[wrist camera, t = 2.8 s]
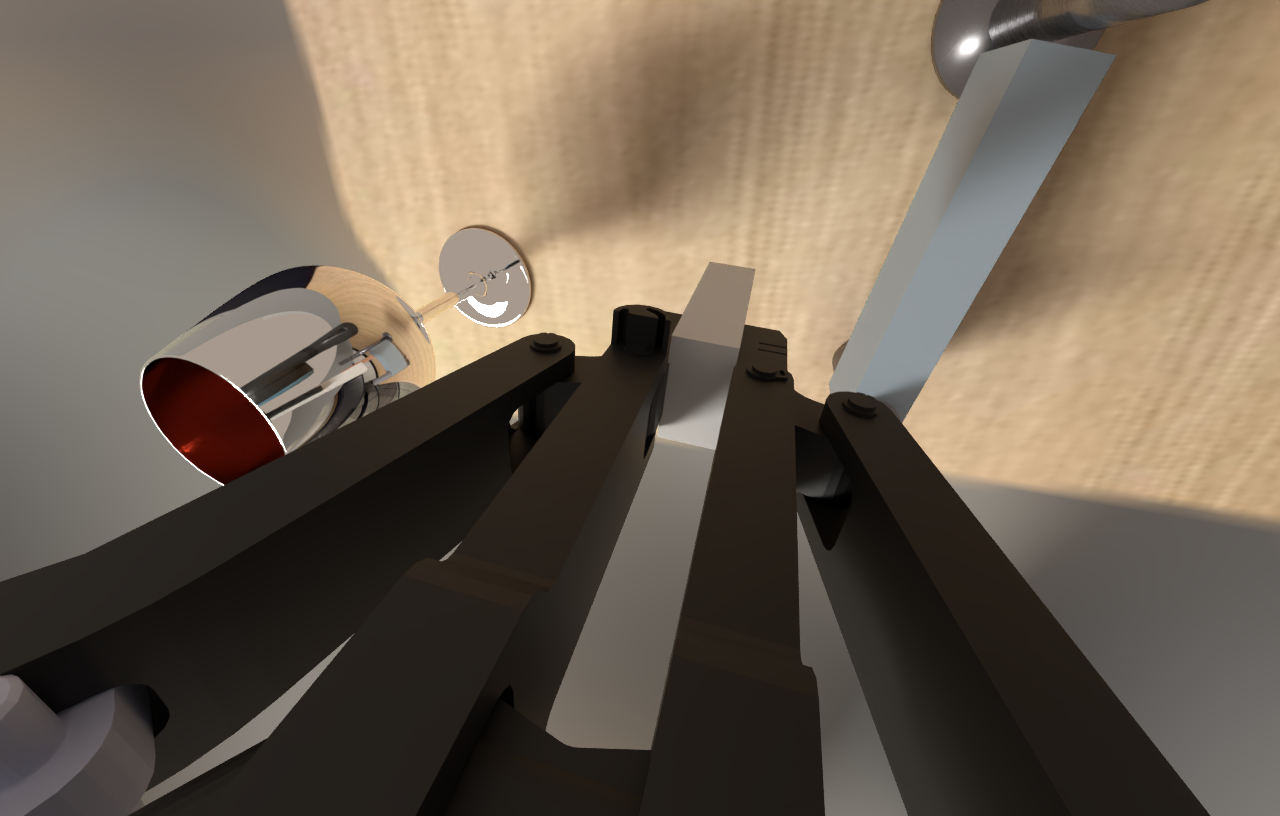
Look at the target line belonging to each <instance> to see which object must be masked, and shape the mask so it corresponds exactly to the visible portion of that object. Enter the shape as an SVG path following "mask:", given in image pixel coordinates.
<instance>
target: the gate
mask: <svg viewBox="0 0 1280 816" xmlns="http://www.w3.org/2000/svg"><path fill="white" fill-rule="evenodd" d="M1116 56H1117V55H1114V54H1109V53H1104V52H1099V51H1093V50H1088V49H1083V48H1078V47H1072V46H1067V45H1062V44H1057V43H1051V42H1046V41H1041V40H1036V39H1029V40H1026V41H1022V42H1019V43H1015V44H1012V45H1009V46H1005V47H1002V48H998V49H995V50H991V51H988V52H984V53H981V54H980V55H979V57H978V59H977V62H976V64H975V66H974V68H973V70H972V72H971V75H970V77H969V79H968V81H967V83H966V86H965V88H964V90H963V92H962V94H961V96H960V99H959V101H958V103H957V105H956V107H955V110H954V112H953V114H952V116H951V118H950V120H949V123H948V125H947V127H946V129H945V131H944V134H943V136H942V138H941V140H940V142H939V144H938V147H937V149H936V151H935V153H934V155H933V158H932V160H931V162H930V164H929V166H928V168H927V171H926V173H925V175H924V177H923V179H922V182H921V184H920V186H919V188H918V190H917V192H916V195H915V197H914V199H913V201H912V203H911V205H910V208H909V210H908V212H907V214H906V216H905V219H904V221H903V223H902V225H901V227H900V229H899V232H898V234H897V236H896V238H895V240H894V243H893V245H892V247H891V249H890V251H889V253H888V256H887V258H886V260H885V262H884V264H883V267H882V269H881V271H880V273H879V275H878V277H877V280H876V282H875V284H874V286H873V288H872V291H871V293H870V295H869V297H868V299H867V301H866V304H865V306H864V308H863V310H862V312H861V315H860V317H859V319H858V321H857V323H856V325H855V328H854V330H853V332H852V334H851V336H850V339H849V341H848V343H845V344H844V345H842V346H841V347H839V348H838V349H837V351H836V352H835V354H834V356H833V361H832V363H833V370H834V373H833V376H832V378H831V380H830V382H829V388H830V394H832V393H835V392H840V391H849V392H855V393H857V392H860V393H864V394H866V396H867V395H870V396H872V397H874V398H875V399H876V400H878V401H880V402H882V403H884V404H885V405H886V406H887V407H888V408H889V409H891V410H892V412H893V413H894V414H895V415H896V417H897V418H898V419H899V420H900V422H901V423H902V422H903V420H904V418H905V417H906V415H907V413H908V412H909V410H910V408H911V407H912V405H913V403H914V401H915V400H916V398H917V396H918V395H919V393H920V391H921V389H922V388H923V386H924V384H925V383H926V381H927V379H928V377H929V376H930V374H931V372H932V371H933V369H934V367H935V365H936V364H937V362H938V360H939V359H940V357H941V355H942V353H943V352H944V350H945V348H946V347H947V345H948V343H949V341H950V340H951V338H952V336H953V335H954V333H955V331H956V330H957V328H958V326H959V324H960V323H961V321H962V319H963V318H964V316H965V314H966V312H967V311H968V309H969V307H970V306H971V304H972V302H973V300H974V299H975V297H976V295H977V294H978V292H979V290H980V288H981V287H982V285H983V283H984V282H985V280H986V278H987V276H988V275H989V273H990V271H991V270H992V268H993V266H994V264H995V263H996V261H997V259H998V258H999V256H1000V254H1001V253H1002V251H1003V249H1004V247H1005V246H1006V244H1007V242H1008V241H1009V239H1010V237H1011V235H1012V234H1013V232H1014V230H1015V229H1016V227H1017V225H1018V223H1019V222H1020V220H1021V218H1022V217H1023V215H1024V213H1025V211H1026V210H1027V208H1028V206H1029V205H1030V203H1031V201H1032V199H1033V198H1034V196H1035V194H1036V193H1037V191H1038V189H1039V187H1040V186H1041V184H1042V182H1043V181H1044V179H1045V177H1046V175H1047V174H1048V172H1049V170H1050V169H1051V167H1052V165H1053V164H1054V162H1055V160H1056V158H1057V157H1058V155H1059V153H1060V152H1061V150H1062V148H1063V146H1064V145H1065V143H1066V141H1067V140H1068V138H1069V136H1070V134H1071V133H1072V131H1073V129H1074V128H1075V126H1076V124H1077V122H1078V121H1079V119H1080V117H1081V116H1082V114H1083V112H1084V110H1085V109H1086V107H1087V105H1088V104H1089V102H1090V100H1091V98H1092V97H1093V95H1094V93H1095V92H1096V90H1097V88H1098V87H1099V85H1100V83H1101V81H1102V80H1103V78H1104V76H1105V75H1106V73H1107V71H1108V69H1109V68H1110V66H1111V64H1112V63H1113V61H1114V59H1115V57H1116Z"/></svg>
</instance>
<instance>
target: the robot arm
mask: <svg viewBox="0 0 1280 816" xmlns="http://www.w3.org/2000/svg"><path fill="white" fill-rule="evenodd" d="M754 274H755V269H751V268H745V267H739V266H733V265H727V264H721V263H715V262H709V264H708V266H707V268H706V270H705V272H704V274H703V276H702V278H701V280H700V282H699V284H698V286H697V288H696V290H695V291H694V293H693V295H692V297H691V299H690V301H689V303H688V305H687V307H686V309H685V311H684V313H683V315H682V314H677V313H671V312H666V311H663V310H661V309H659V308H655V307H651V306H645V305H625V306H621V307H618V308H616V309H615V310H614V312H613V325H612V339H611V345H610V346H609V347H608V349H607V350H606V351H605V353H604V354H603V355H602V356H594V357H589V356H575V344H574V343H573V342H572V341H571V340H570V339H568V338H566V337H563V336H559V335H556V334H554V333H549V334H547V333H540V334H535V335H529V336H526V337H523V338H521V339H519V340H517V341H515V342H513V343H511V344H509V345H507V346H505V347H503V348H501V349H499V350H497V351H495V352H493V353H491V354H489V355H487V356H485V357H483V358H481V359H479V360H477V361H474V362H472V363H470V364H468V365H466V366H464V367H462V368H460V369H458V370H456V371H454V372H452V373H450V374H448V375H446V376H444V377H442V378H440V379H438V380H436V381H434V382H432V383H430V384H428V385H426V386H424V387H422V388H420V389H418V390H416V391H414V392H412V393H410V394H408V395H406V396H404V397H402V398H400V399H397V400H395V401H393V402H391V403H389V404H387V405H385V406H383V407H381V408H379V409H377V410H375V411H373V412H371V413H369V414H367V415H365V416H363V417H361V418H359V419H357V420H355V421H353V422H351V423H349V424H347V425H345V426H343V427H341V428H339V429H337V430H335V431H333V432H331V433H329V434H327V435H325V436H323V437H320V438H318V439H316V440H314V441H312V442H310V443H308V444H306V445H304V446H302V447H300V448H298V449H296V450H294V451H292V452H290V453H288V454H286V455H284V456H282V457H280V458H278V459H276V460H274V461H272V462H270V463H268V464H266V465H264V466H262V467H260V468H258V469H256V470H254V471H252V472H250V473H248V474H245V475H243V476H241V477H239V478H237V479H235V480H233V481H231V482H229V483H227V484H225V485H223V486H221V487H219V488H217V489H215V490H213V491H211V492H209V493H207V494H205V495H203V496H201V497H199V498H197V499H195V500H193V501H191V502H189V503H187V504H185V505H183V506H181V507H179V508H177V509H175V510H173V511H171V512H168V513H166V514H164V515H163V516H160V517H158V518H156V519H154V520H153V521H150V522H148V523H146V524H144V525H142V526H140V527H138V528H136V529H134V530H132V531H130V532H128V533H126V534H124V535H122V536H120V537H118V538H116V539H114V540H112V541H110V542H108V543H106V544H104V545H102V546H100V547H98V548H96V549H94V550H92V551H89V552H87V553H86V554H83V555H80V556H77V557H74V558H71V559H68V560H65V561H62V562H59V563H56V564H53V565H50V566H47V567H44V568H41V569H38V570H35V571H32V572H29V573H26V574H23V575H20V576H17V577H14V578H11V579H8V580H5V581H2V582H0V816H825V807H824V790H823V789H824V788H823V769H822V751H821V732H820V713H819V697H818V689H817V681H816V677H815V674H814V672H813V669H812V667H808V666H805V665H803V664H802V661H801V656H800V629H799V628H800V627H799V586H798V585H799V584H798V542H797V512H798V515H799V518H800V520H801V523H802V526H803V528H804V531H805V534H806V537H807V539H808V542H809V545H810V547H811V550H812V553H813V556H814V559H815V561H816V564H817V567H818V570H819V572H820V575H821V578H822V581H823V583H824V586H825V589H826V592H827V594H828V597H829V600H830V603H831V605H832V608H833V611H834V614H835V616H836V618H837V622H838V624H839V627H840V630H841V633H842V635H843V638H844V641H845V644H846V646H847V649H848V652H849V655H850V657H851V660H852V663H853V665H854V668H855V671H856V674H857V676H858V679H859V682H860V685H861V687H862V690H863V693H864V695H865V698H866V701H867V704H868V707H869V709H870V712H871V715H872V717H873V720H874V723H875V726H876V729H877V731H878V734H879V736H880V739H881V742H882V745H883V748H884V751H885V753H886V756H887V759H888V761H889V764H890V767H891V770H892V772H893V775H894V778H895V781H896V783H897V786H898V789H899V791H900V794H901V797H902V800H903V803H904V805H905V808H906V811H907V814H908V816H1210V815H1209V813H1208V812H1207V811H1206V810H1205V808H1204V807H1203V806H1202V805H1201V803H1200V802H1199V801H1198V800H1197V798H1196V797H1195V796H1194V794H1193V793H1192V792H1191V790H1190V789H1189V788H1188V787H1187V785H1186V784H1185V783H1184V782H1183V780H1182V779H1181V778H1180V776H1179V775H1178V774H1177V773H1176V771H1175V770H1174V769H1173V768H1172V766H1171V765H1170V764H1169V763H1168V761H1167V760H1166V759H1165V757H1164V756H1163V755H1162V754H1161V752H1160V751H1159V750H1158V748H1157V747H1156V746H1155V745H1154V743H1153V742H1152V741H1151V740H1150V738H1149V737H1148V736H1147V734H1146V733H1145V732H1144V731H1143V730H1142V728H1141V727H1140V726H1139V725H1138V723H1137V722H1136V721H1135V719H1134V718H1133V717H1132V715H1131V714H1130V713H1129V712H1128V710H1127V709H1126V708H1125V707H1124V705H1123V704H1122V703H1121V702H1120V700H1119V699H1118V698H1117V697H1116V695H1115V694H1114V693H1113V691H1112V690H1111V689H1110V687H1109V686H1108V685H1107V684H1106V682H1105V681H1104V680H1103V679H1102V677H1101V676H1100V675H1099V674H1098V672H1097V671H1096V670H1095V668H1094V667H1093V666H1092V665H1091V663H1090V662H1089V661H1088V660H1087V658H1086V657H1085V656H1084V655H1083V653H1082V652H1081V651H1080V649H1079V648H1078V647H1077V646H1076V644H1075V643H1074V642H1073V640H1072V639H1071V638H1070V637H1069V635H1068V634H1067V633H1066V632H1065V630H1064V629H1063V628H1062V627H1061V625H1060V624H1059V623H1058V621H1057V620H1056V619H1055V618H1054V616H1053V615H1052V614H1051V612H1050V611H1049V610H1048V609H1047V607H1046V606H1045V605H1044V604H1043V602H1042V601H1041V600H1040V598H1039V597H1038V596H1037V595H1036V593H1035V592H1034V591H1033V590H1032V588H1031V587H1030V586H1029V584H1028V583H1027V582H1026V581H1025V579H1024V578H1023V577H1022V576H1021V574H1020V573H1019V572H1018V571H1017V569H1016V568H1015V567H1014V566H1013V564H1012V563H1011V562H1010V560H1009V559H1008V558H1007V556H1006V555H1005V554H1004V553H1003V551H1002V550H1001V549H1000V548H999V546H998V545H997V544H996V543H995V541H994V540H993V539H992V537H991V536H990V535H989V534H988V532H987V531H986V530H985V529H984V528H983V526H982V525H981V523H980V522H979V521H978V520H977V518H976V517H975V516H974V515H973V513H972V512H971V511H970V509H969V508H968V507H967V506H966V504H965V503H964V502H963V501H962V499H961V498H960V497H959V495H958V494H957V493H956V492H955V490H954V489H953V488H952V487H951V485H950V484H949V483H948V481H947V480H946V479H945V478H944V476H943V475H942V474H941V473H940V471H939V470H938V469H937V467H936V466H935V465H934V464H933V462H932V461H931V460H930V459H929V457H928V456H927V455H926V454H925V452H924V451H923V450H922V448H921V447H920V446H919V445H918V443H917V442H916V441H915V440H914V438H913V437H912V436H911V434H910V433H909V432H908V431H907V429H906V428H905V427H904V426H903V424H902V423H901V422H900V420H899V419H898V418H897V417H896V415H895V414H894V413H893V412H892V410H891V409H889V408H888V407H887V406H886V405H885V404H884V403H882V402H880V401H878V400H876V399H875V398H874V397H872V396H870V395H867V396H866V394H864V393H860V392H857V393H855V392H849V391H840V392H835V393H832V394H830V395H829V396H828V397H827V399H826V402H825V405H824V404H822V403H819V402H816V401H813V400H811V399H809V398H807V397H804V396H803V395H801V394H799V393H798V392H796V391H795V390H794V379H793V377H792V375H791V374H790V373H789V372H788V371H787V339H786V338H785V337H784V335H783V334H782V333H781V332H780V331H777V330H771V329H766V328H761V327H755V326H750V325H745V319H746V314H747V309H748V304H749V299H750V294H751V289H752V284H753V279H754ZM517 409H518V419H519V420H518V421H517V422H515V423H514V424H513V425H510V423H509V422H510V419H511V417H512V415H513V413H514V412H515V411H516V410H517ZM658 424H659V428H658V435H657V437H660V438H665V439H669V440H674V441H678V442H683V443H687V444H691V445H696V446H700V447H705V448H709V449H713V450H715V454H714V459H713V463H712V468H711V472H710V477H709V481H708V487H707V491H706V496H705V500H704V505H703V509H702V514H701V519H700V523H699V528H698V533H697V537H696V542H695V547H694V551H693V556H692V561H691V565H690V570H689V574H688V579H687V584H686V588H685V593H684V598H683V602H682V608H681V612H680V616H679V621H678V626H677V631H676V635H675V639H674V644H673V649H672V654H671V658H670V663H669V667H668V673H667V677H666V681H665V686H664V690H663V695H662V700H661V704H660V709H659V714H658V718H657V723H656V728H655V732H654V737H653V742H652V746H651V750H630V749H599V748H598V749H597V748H575V747H571V746H567V745H565V744H563V743H562V742H560V741H559V740H557V739H556V738H554V737H553V736H552V735H550V734H549V733H547V732H546V726H547V722H548V718H549V715H550V711H551V709H552V706H553V703H554V700H555V698H556V695H557V693H558V690H559V688H560V685H561V683H562V680H563V677H564V675H565V672H566V670H567V667H568V664H569V662H570V660H571V657H572V655H573V652H574V649H575V647H576V644H577V642H578V639H579V636H580V634H581V631H582V629H583V626H584V624H585V621H586V619H587V616H588V614H589V611H590V608H591V606H592V604H593V601H594V598H595V596H596V593H597V591H598V588H599V586H600V583H601V581H602V578H603V575H604V573H605V570H606V568H607V565H608V563H609V560H610V558H611V555H612V553H613V550H614V547H615V545H616V542H617V539H618V537H619V535H620V532H621V529H622V527H623V524H624V522H625V519H626V517H627V514H628V512H629V509H630V506H631V504H632V501H633V499H634V496H635V494H636V491H637V489H638V486H639V484H640V481H641V479H642V476H643V473H644V471H645V468H646V466H647V463H648V461H649V458H650V455H651V453H652V450H653V448H654V441H655V434H656V429H657V427H658ZM462 540H463V541H462ZM461 541H462V542H461ZM460 542H461V543H460ZM459 543H460V545H459V546H458V547H457V549H456V550H455V552H454V553H453V554H452V555H451V556H450V557H449V558H448V559H447V560H444V561H442V562H441V561H439V560H440V559H442V557H444V556H445V555H446V554H447V553H448V552H450V551H451V550H452V549H453V548H454V547H455V546H457V545H458V544H459ZM353 634H354V635H353ZM352 635H353V636H352ZM351 636H352V637H351ZM349 637H351V639H350V640H349V641H348V642H347V643H346V644H345V646H344V647H343V648H342V649H341V651H340V652H339V653H338V654H337V655H336V656H335V658H334V659H333V660H332V661H331V663H330V664H329V665H328V666H327V668H326V669H325V670H324V671H323V672H322V673H321V675H320V676H319V677H318V678H317V679H316V681H315V682H314V683H313V684H312V685H311V687H310V688H309V689H308V690H307V691H306V693H305V694H304V695H303V696H302V697H301V699H300V700H299V701H298V703H297V704H296V705H295V706H294V707H293V708H292V710H291V711H290V712H289V713H288V714H287V716H286V717H285V718H284V719H283V721H282V722H281V723H280V724H279V725H278V726H277V728H276V729H275V730H274V731H273V732H272V734H271V735H270V736H269V737H268V738H267V739H265V740H263V741H262V742H260V743H258V744H256V745H254V746H252V747H251V748H249V749H247V750H245V751H244V752H242V753H240V754H238V755H237V756H235V757H233V758H231V759H229V760H227V761H225V762H224V763H222V764H220V765H218V766H216V767H214V768H213V769H211V770H209V771H207V772H206V773H204V774H202V775H200V776H198V777H196V778H195V779H193V780H191V781H189V782H187V783H185V784H184V785H182V786H180V787H178V788H177V789H175V790H173V791H171V792H169V793H167V794H166V795H164V796H162V797H160V798H158V799H157V800H155V801H153V802H151V803H149V804H148V805H146V806H145V805H144V804H143V802H142V801H141V797H142V796H143V794H144V793H145V792H146V791H148V790H150V789H151V788H153V787H154V786H156V785H158V784H159V783H161V782H163V781H164V780H166V779H167V778H169V777H171V776H173V775H174V774H176V773H177V772H179V771H181V770H182V769H184V768H186V767H187V766H188V765H190V764H191V763H193V762H194V761H196V760H197V759H199V758H200V757H201V756H203V755H204V754H206V753H207V752H209V751H210V750H212V749H213V748H214V747H216V746H217V745H219V744H220V743H222V742H223V741H224V740H226V739H227V738H229V737H230V736H232V735H233V734H234V733H236V732H237V731H238V730H240V728H242V727H243V726H244V725H246V724H247V723H248V722H250V721H251V720H252V719H253V718H255V717H256V716H257V715H258V714H260V713H261V712H262V711H263V710H265V709H266V708H267V707H268V706H270V705H271V704H272V703H273V702H275V701H276V700H277V699H278V698H279V697H281V696H282V695H283V694H284V693H285V692H286V691H288V690H289V689H290V688H291V687H292V686H293V685H295V684H296V683H297V682H298V681H299V680H300V679H301V678H303V677H304V676H305V675H306V674H307V673H309V672H310V671H311V670H312V669H313V668H314V667H316V666H317V665H318V664H319V663H320V662H321V661H322V660H324V659H325V658H326V657H327V656H328V655H330V654H331V653H332V652H333V651H334V650H335V649H337V647H339V646H340V645H341V644H342V643H344V642H345V641H346V640H347V639H348V638H349Z"/></svg>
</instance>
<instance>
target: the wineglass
mask: <svg viewBox="0 0 1280 816" xmlns="http://www.w3.org/2000/svg"><path fill="white" fill-rule="evenodd" d="M439 273H440V278H441V282H442V285H443V288H444V290H445V292H446V294H445V295H443V296H441V297H439V298H437V299H435V300H433V301H431V302H430V303H428V304H426V305H424V306H422V307H420V308H418V309H416V310H413V309H412V308H411V306H410V305H409V304H408V303H407V302H406V301H405V300H404V299H402V298H401V297H400V296H399V295H398V294H396V293H395V292H394V291H392V290H391V289H389V288H388V287H386V286H385V285H383V284H381V283H380V282H378V281H376V280H374V279H371V278H369V277H367V276H365V275H363V274H360V273H357V272H354V271H350V270H347V269H342V268H337V267H331V266H318V265H312V266H300V267H294V268H289V269H286V270H283V271H279V272H277V273H274V274H272V275H270V276H268V277H265V278H264V279H262V280H260V281H258V282H256V283H254V284H253V285H251V286H250V287H248V288H246V289H245V290H243V291H242V292H240V293H238V294H237V295H235V296H234V297H233V298H231V299H230V300H228V301H227V302H225V303H224V304H223V305H221V306H220V307H219V308H217V309H216V310H214V311H213V312H211V313H210V314H209V315H208V316H206V317H205V318H203V319H202V320H201V321H199V322H198V323H197V324H195V325H194V326H193V327H191V328H190V329H189V330H187V331H186V332H185V333H183V334H182V335H181V336H180V337H178V338H177V339H175V340H174V341H173V342H172V343H170V344H169V345H168V346H166V347H165V348H164V349H162V350H161V351H160V352H158V353H157V354H156V355H155V356H153V357H152V358H151V359H149V360H148V361H147V362H146V363H145V364H144V365H143V367H142V369H141V372H140V377H139V386H140V392H141V396H142V399H143V402H144V405H145V407H146V409H147V411H148V413H149V415H150V417H151V419H152V420H153V422H154V423H155V425H156V426H157V428H158V429H159V431H160V432H161V433H162V435H163V436H164V437H165V439H166V440H167V441H168V442H169V443H170V444H171V445H172V447H173V448H174V449H175V450H176V451H177V452H178V453H179V454H180V455H181V456H182V457H183V458H184V459H186V460H187V461H188V462H189V463H190V464H191V465H193V466H194V467H195V468H196V469H198V470H199V471H200V472H202V473H203V474H205V475H206V476H208V477H209V478H211V479H212V480H214V481H216V482H217V483H219V484H221V485H225V484H227V483H229V482H231V481H233V480H235V479H237V478H239V477H241V476H243V475H245V474H248V473H250V472H252V471H254V470H256V469H258V468H260V467H262V466H264V465H266V464H268V463H270V462H272V461H274V460H276V459H278V458H280V457H282V456H284V455H286V454H288V453H290V452H292V451H294V450H296V449H298V448H300V447H302V446H304V445H306V444H308V443H310V442H312V441H314V440H316V439H318V438H320V437H323V436H325V435H327V434H329V433H331V432H333V431H335V430H337V429H339V428H341V427H343V426H345V425H347V424H349V423H351V422H353V421H355V420H357V419H359V418H361V417H363V416H365V415H367V414H369V413H371V412H373V411H375V410H377V409H379V408H381V407H383V406H385V405H387V404H389V403H391V402H393V401H395V400H397V399H400V398H402V397H404V396H406V395H408V394H410V393H412V392H414V391H416V390H418V389H420V388H422V387H424V386H426V385H428V384H430V383H432V382H434V381H435V379H436V360H435V354H434V349H433V345H432V342H431V339H430V336H429V334H428V332H427V330H426V328H425V326H424V323H426V322H427V321H429V320H431V319H432V318H434V317H436V316H437V315H439V314H441V313H442V312H444V311H446V310H447V309H449V308H451V307H453V306H455V307H456V308H457V309H458V310H459V311H460V312H461V313H462V314H463V315H464V316H466V317H467V318H469V319H470V320H472V321H474V322H476V323H478V324H480V325H483V326H487V327H505V326H508V325H511V324H513V323H514V322H516V321H517V320H518V319H520V318H521V317H522V315H523V314H524V313H525V311H526V310H527V308H528V305H529V302H530V298H531V280H530V275H529V272H528V269H527V267H526V264H525V262H524V260H523V259H522V257H521V256H520V254H519V253H518V251H517V250H516V249H515V248H514V247H513V246H512V245H511V244H510V243H509V242H508V241H507V240H506V239H504V238H503V237H502V236H500V235H498V234H496V233H494V232H492V231H489V230H486V229H482V228H467V229H463V230H460V231H458V232H456V233H455V234H453V235H452V236H451V237H450V238H449V239H448V240H447V241H446V242H445V244H444V246H443V248H442V250H441V253H440V258H439Z"/></svg>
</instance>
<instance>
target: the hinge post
mask: <svg viewBox="0 0 1280 816" xmlns="http://www.w3.org/2000/svg"><path fill="white" fill-rule="evenodd" d="M1206 1H1208V0H941V2H940V4H939V7H938V10H937V13H936V15H935V19H934V24H933V28H932V36H931V55H932V62H933V65H934V69H935V72H936V74H937V76H938V78H939V80H940V82H941V83H942V85H943V86H944V87H945V88H946V89H947V91H948V92H949V93H950V94H952V95H953V96H955V97H956V98H957V99H960V96H961V94H962V92H963V90H964V88H965V86H966V83H967V81H968V79H969V77H970V75H971V72H972V70H973V68H974V66H975V64H976V62H977V59H978V57H979V55H980V54H981V53H984V52H988V51H991V50H995V49H998V48H1002V47H1005V46H1009V45H1012V44H1015V43H1019V42H1022V41H1026V40H1029V39H1036V40H1041V41H1046V42H1051V43H1057V44H1062V45H1067V46H1072V47H1078V48H1083V49H1088V50H1093V48H1094V47H1095V46H1096V44H1097V43H1098V41H1099V40H1100V38H1101V36H1102V35H1103V33H1104V31H1105V29H1106V28H1108V27H1112V26H1116V25H1120V24H1124V23H1128V22H1132V21H1136V20H1140V19H1144V18H1148V17H1152V16H1156V15H1159V14H1163V13H1167V12H1171V11H1175V10H1179V9H1183V8H1187V7H1191V6H1194V5H1198V4H1201V3H1203V2H1206Z"/></svg>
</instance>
